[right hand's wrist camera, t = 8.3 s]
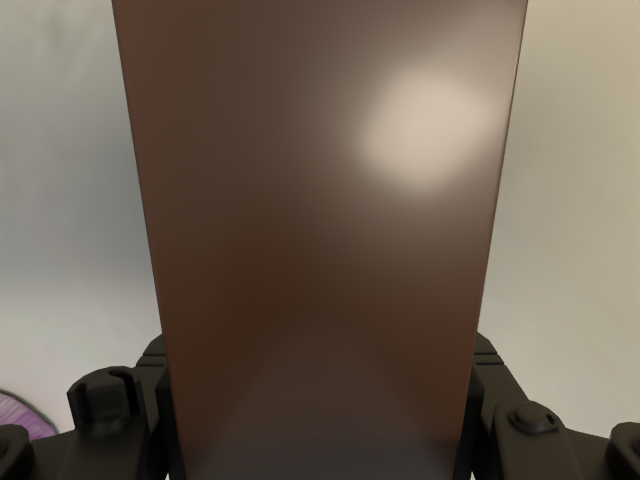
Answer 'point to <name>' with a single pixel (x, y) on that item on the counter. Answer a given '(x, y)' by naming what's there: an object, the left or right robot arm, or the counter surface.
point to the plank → (319, 222)
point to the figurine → (23, 417)
